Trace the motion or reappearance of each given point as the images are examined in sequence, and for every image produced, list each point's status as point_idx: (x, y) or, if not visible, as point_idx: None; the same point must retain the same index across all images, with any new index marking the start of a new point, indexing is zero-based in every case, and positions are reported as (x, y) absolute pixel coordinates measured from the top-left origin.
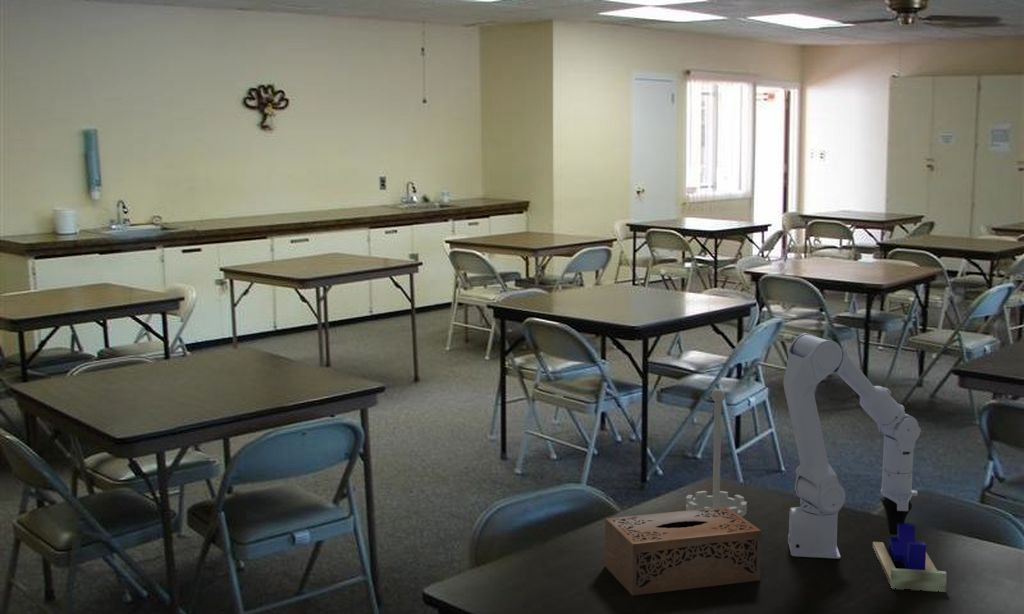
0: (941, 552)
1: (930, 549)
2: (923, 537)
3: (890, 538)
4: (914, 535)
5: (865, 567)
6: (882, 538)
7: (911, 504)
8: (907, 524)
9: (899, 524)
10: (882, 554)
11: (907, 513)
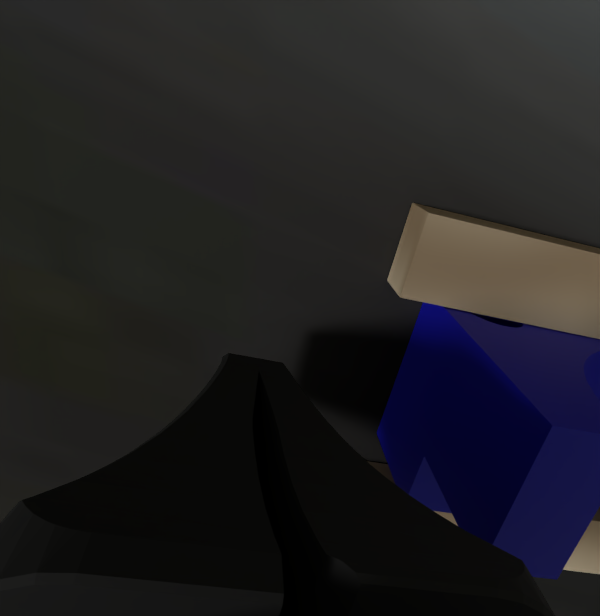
0: (494, 40)
1: (407, 111)
2: (83, 18)
3: (439, 508)
4: (588, 387)
5: (588, 610)
6: (129, 395)
7: (474, 596)
8: (555, 494)
9: (525, 565)
10: None
11: (428, 514)
